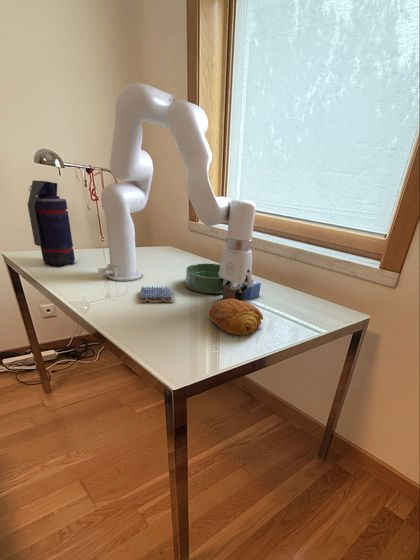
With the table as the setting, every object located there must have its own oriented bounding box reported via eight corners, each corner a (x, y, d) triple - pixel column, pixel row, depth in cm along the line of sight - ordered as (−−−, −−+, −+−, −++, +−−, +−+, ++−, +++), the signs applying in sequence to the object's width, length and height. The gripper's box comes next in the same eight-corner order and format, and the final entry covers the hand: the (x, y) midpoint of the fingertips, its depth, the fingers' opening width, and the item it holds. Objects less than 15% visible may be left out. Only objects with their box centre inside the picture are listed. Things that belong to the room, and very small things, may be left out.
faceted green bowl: (209, 298, 107) (210, 281, 104) (175, 283, 118) (176, 267, 115) (244, 288, 118) (246, 272, 115) (210, 275, 129) (211, 261, 126)
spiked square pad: (139, 303, 100) (139, 297, 99) (140, 291, 109) (140, 285, 108) (173, 303, 101) (173, 297, 100) (171, 291, 110) (171, 286, 109)
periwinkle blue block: (249, 299, 109) (251, 285, 106) (238, 295, 112) (240, 281, 109) (258, 296, 112) (261, 282, 109) (248, 292, 115) (249, 278, 112)
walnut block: (233, 304, 104) (234, 289, 101) (222, 300, 107) (223, 285, 104) (243, 301, 107) (245, 287, 104) (232, 297, 110) (233, 282, 107)
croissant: (223, 346, 83) (227, 321, 79) (201, 315, 94) (203, 291, 89) (270, 337, 89) (276, 313, 84) (244, 309, 100) (248, 286, 95)
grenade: (64, 258, 138) (51, 179, 123) (81, 263, 132) (70, 182, 117) (33, 263, 128) (15, 179, 113) (50, 270, 122) (33, 182, 107)
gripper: (210, 240, 100) (207, 295, 109) (252, 251, 90) (244, 311, 99) (227, 238, 105) (222, 290, 114) (268, 249, 95) (259, 305, 104)
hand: (232, 299), depth 106 cm, fingers closed on walnut block, 5 cm apart
